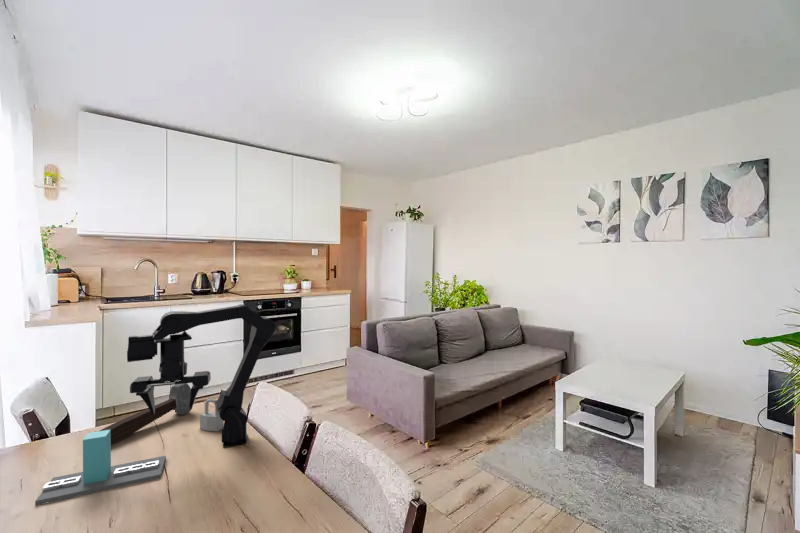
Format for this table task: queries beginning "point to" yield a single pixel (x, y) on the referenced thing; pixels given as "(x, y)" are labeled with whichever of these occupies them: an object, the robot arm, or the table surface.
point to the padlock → (211, 418)
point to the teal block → (96, 456)
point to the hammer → (131, 424)
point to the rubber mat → (102, 485)
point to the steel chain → (117, 473)
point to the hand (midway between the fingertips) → (172, 411)
